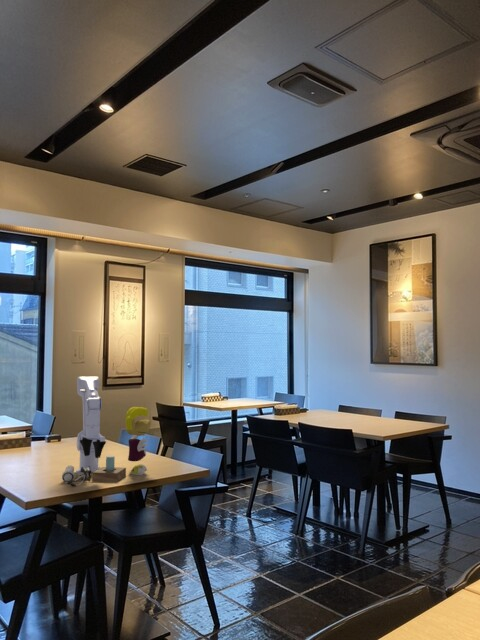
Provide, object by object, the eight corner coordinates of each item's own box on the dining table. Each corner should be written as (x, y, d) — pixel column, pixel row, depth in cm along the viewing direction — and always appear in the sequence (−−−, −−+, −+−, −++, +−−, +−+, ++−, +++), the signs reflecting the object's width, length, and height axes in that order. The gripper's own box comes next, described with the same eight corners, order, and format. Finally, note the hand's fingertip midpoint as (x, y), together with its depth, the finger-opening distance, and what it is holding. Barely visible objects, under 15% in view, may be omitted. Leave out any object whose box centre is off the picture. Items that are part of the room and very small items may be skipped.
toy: (149, 476, 222) (150, 408, 225) (122, 477, 221) (123, 408, 223) (150, 466, 244) (151, 403, 247) (125, 467, 242) (127, 404, 245)
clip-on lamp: (88, 493, 207) (91, 474, 224) (90, 478, 206) (92, 460, 223) (58, 492, 204) (63, 472, 221) (60, 477, 203) (64, 459, 220)
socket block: (102, 474, 226) (102, 467, 226) (125, 475, 225) (125, 467, 225) (92, 480, 215) (92, 472, 216) (116, 481, 214) (116, 473, 214)
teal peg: (104, 478, 219) (104, 457, 220) (108, 476, 223) (108, 456, 224) (111, 478, 218) (112, 457, 219) (115, 477, 222) (116, 456, 223)
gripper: (111, 425, 220) (110, 457, 219) (90, 422, 229) (89, 453, 227) (97, 427, 214) (96, 459, 213) (77, 424, 223) (76, 455, 222)
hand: (92, 456), depth 220 cm, fingers open, 7 cm apart
